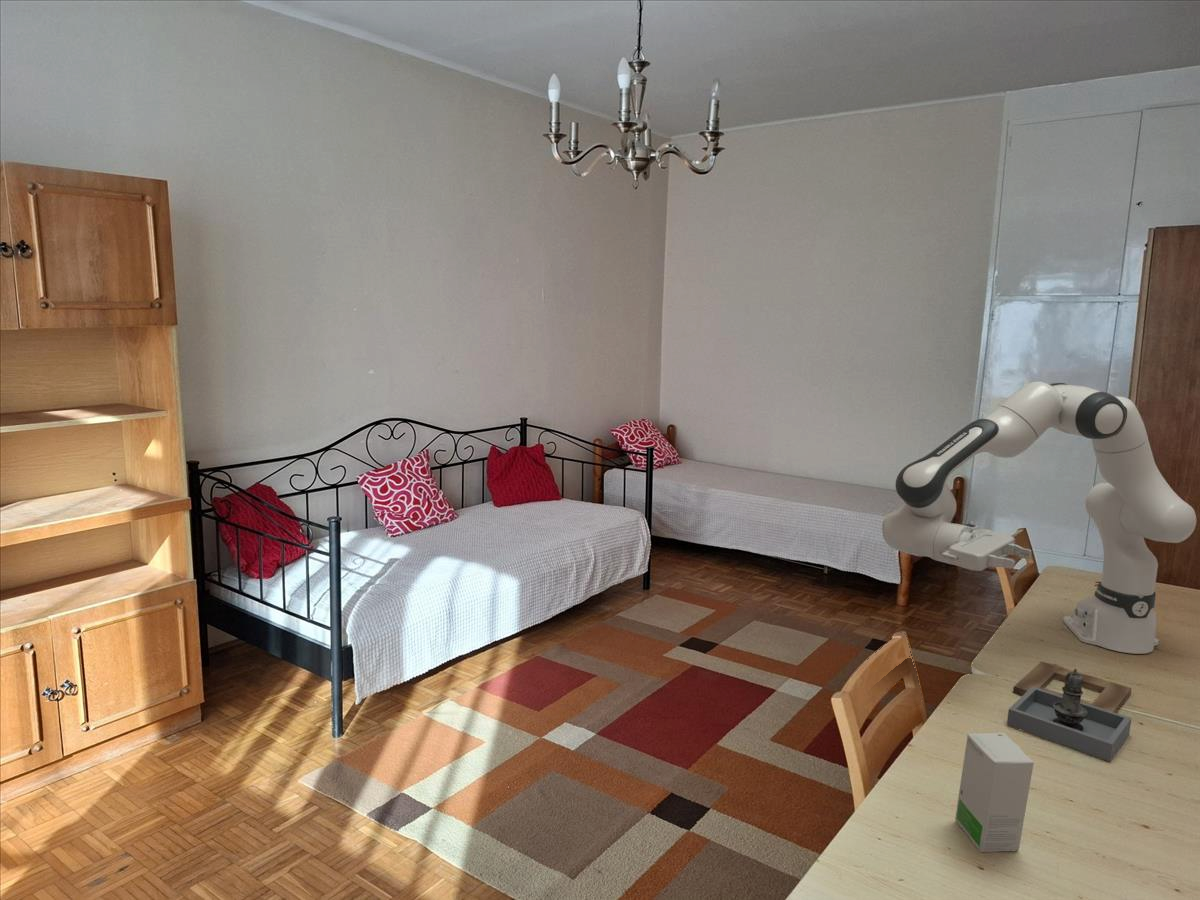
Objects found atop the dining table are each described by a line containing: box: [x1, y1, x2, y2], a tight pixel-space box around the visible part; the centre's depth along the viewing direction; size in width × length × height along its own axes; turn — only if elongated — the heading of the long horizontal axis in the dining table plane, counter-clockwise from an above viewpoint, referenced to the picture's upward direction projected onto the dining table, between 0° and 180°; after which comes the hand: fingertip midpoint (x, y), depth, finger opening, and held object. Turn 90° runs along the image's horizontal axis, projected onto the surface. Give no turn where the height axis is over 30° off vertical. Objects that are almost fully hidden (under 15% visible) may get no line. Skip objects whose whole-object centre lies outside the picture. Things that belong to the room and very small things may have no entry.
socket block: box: [1012, 661, 1132, 713], centre depth 178 cm, size 18×18×2 cm
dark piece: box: [1053, 668, 1087, 731], centre depth 162 cm, size 6×6×12 cm
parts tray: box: [1006, 686, 1133, 763], centre depth 162 cm, size 18×14×4 cm
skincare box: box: [954, 732, 1035, 853], centre depth 128 cm, size 8×7×16 cm
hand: (1022, 559), depth 172 cm, fingers open, 8 cm apart
